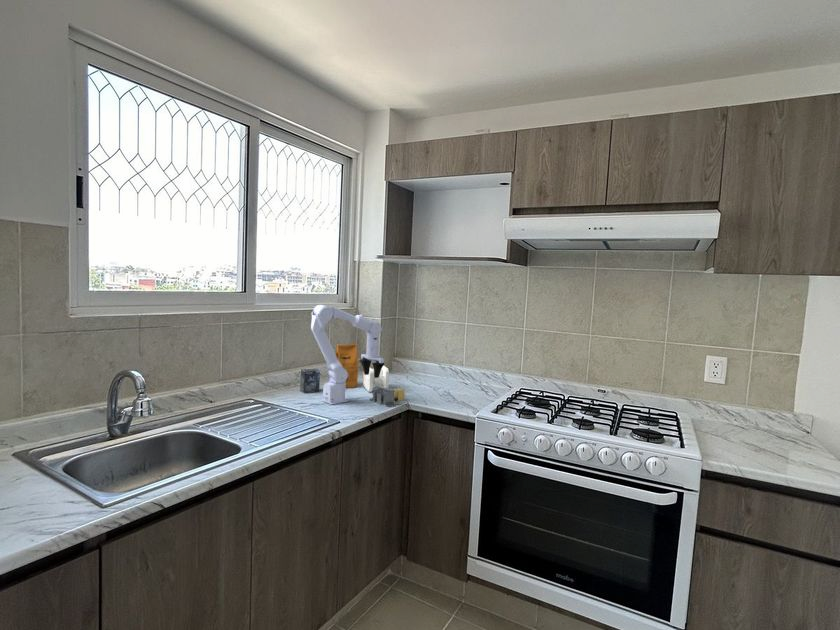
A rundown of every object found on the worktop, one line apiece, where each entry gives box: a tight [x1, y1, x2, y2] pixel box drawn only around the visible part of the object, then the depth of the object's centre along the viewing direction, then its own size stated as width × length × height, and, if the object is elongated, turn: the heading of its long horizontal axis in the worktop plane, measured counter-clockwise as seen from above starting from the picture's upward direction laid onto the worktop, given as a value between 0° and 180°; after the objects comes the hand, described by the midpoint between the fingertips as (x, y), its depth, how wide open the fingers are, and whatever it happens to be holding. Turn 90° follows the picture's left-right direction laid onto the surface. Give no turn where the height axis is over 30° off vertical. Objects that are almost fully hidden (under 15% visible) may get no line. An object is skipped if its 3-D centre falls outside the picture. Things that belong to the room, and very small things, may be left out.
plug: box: [376, 387, 406, 405], centre depth 205 cm, size 14×4×5 cm, turn 134°
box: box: [299, 368, 321, 394], centre depth 216 cm, size 8×6×11 cm
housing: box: [369, 386, 398, 408], centre depth 202 cm, size 5×14×6 cm, turn 44°
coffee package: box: [335, 343, 359, 389], centre depth 230 cm, size 10×12×22 cm
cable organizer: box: [362, 364, 390, 393], centre depth 226 cm, size 15×11×12 cm
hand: (371, 376), depth 209 cm, fingers open, 7 cm apart
